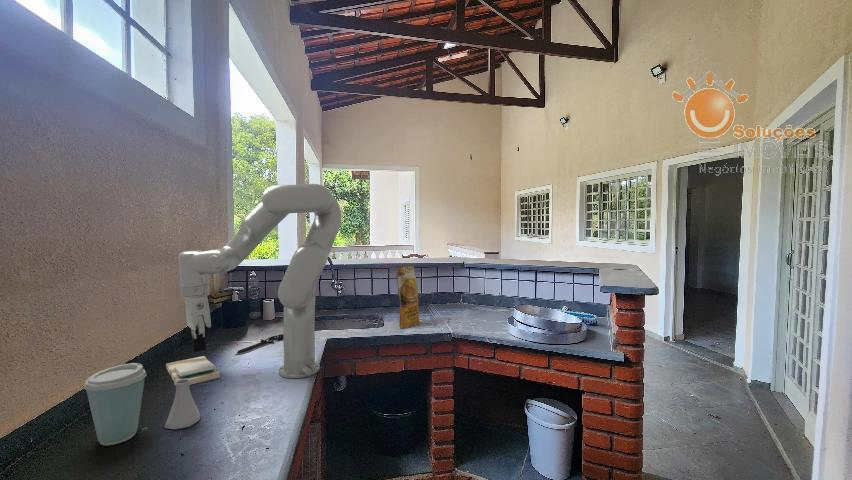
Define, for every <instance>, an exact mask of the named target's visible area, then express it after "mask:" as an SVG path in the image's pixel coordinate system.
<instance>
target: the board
mask: <svg viewBox="0 0 852 480" xmlns="http://www.w3.org/2000/svg"><path fill="white" fill-rule="evenodd" d="M207 360H208V361H209V359H207V357H206V356H205V355H202V356H198V357H193V358H187V359H182V360H176V361H172V362H168V363H165V368H166V370H167V372H168V374H169V376H170V377H171V379H172V381H173V382H174V383H175V381H177V380H180V379H186V378H187V379H191V380H190V383H189V386H191V385H195V384H201V383H203V382H208V381H212V380H216V379H220V378H221V373H220V371H219V370H218V369H217V368H216V367H215V369H214V370H210V371H205V372H201V373H196V374H192V375H187V376H183V377H180V376H179V375H178V374H177V373H176V371H175V367H178V366H183V365H188V364H193V363H198V362H202V361H207ZM174 383H173V384H174Z"/></svg>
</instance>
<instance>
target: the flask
mask: <svg viewBox="0 0 852 480" xmlns="http://www.w3.org/2000/svg"><path fill="white" fill-rule="evenodd" d="M190 380H191V379H187V378H186V379H180V380H177V381H175V383H173V384H174V387H175V394H174V398H173V402H172V405H171V409H170V411H169V413H168V417H167V419H166V422H165V424H164V429H170V430H179V429H185V428H190V427H191V426H193V425H195V424H197V422H199V421H200V419H201V416H202V415H201V413H200V410H199V409H198V406H197V405H196V403H195V402H196V401H194V398H193V397H192V394H191V389H190V385H189V383H190Z"/></svg>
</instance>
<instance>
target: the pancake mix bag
mask: <svg viewBox="0 0 852 480" xmlns="http://www.w3.org/2000/svg"><path fill="white" fill-rule="evenodd" d="M395 272H396V273H395V274H396V275H395V276H396V278H395V279H396V283H397V284H396V285H397V294H398V297H399V325H398V326H399V327H400V328H402V329H409V328H411V327H410V326H412V325H414V326H415V324H416V325H418V324H420V323H419V322H421V321H420V311H419V308H420V307H419V290H418V281H417V276H416V272H415V267H414V265H408V266H401V267H398V268H397V269H396V271H395ZM417 323H418V324H417ZM408 327H409V328H408ZM412 327H413V326H412ZM400 328H399V329H400Z"/></svg>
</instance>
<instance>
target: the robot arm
mask: <svg viewBox="0 0 852 480" xmlns="http://www.w3.org/2000/svg"><path fill="white" fill-rule="evenodd" d="M307 213H314V219H313V222H312V223H311V226H310V228H309V230H308V234H307V235H306V237H305V240H304V242H303V244H302V245H300V246H299V247H298V248H297V249H296V250H295V251H294V253H293V255H292V257H291V260H290V262H289V264H288V266H287V268H286V271H285V273H284V276H283V277H282V280H281V282H280V284H279V287H278V291H277V296H278V299H279V302H280V304H281V305H282V306H283V334H284V338H283V365H281V366H280V367H279V368H278V375H279V376H280V377H282V378H286V379H302V378H306V377H310V376H314V375H315V374H316V373H318V372H320V369H321V366H320V364H319V363H318V362H317V361H315V360H316V358H315V357H316V352H315V350H316V346H315V345H316V343H315V342H316V328H315V327H316V324H315V323H316V318H315V317H316V293H317V292H316V287H317V284H318V282H319V279H320V277H321V275H322V273H323V270H324V269H325V266H326V265H327V262H328V258H329V255H330V252H331V250H332V247H333V246H334V244H335V240H336V238H337V236H338V233H339V230H340V228H341V223H342V210H341V206H340V203H339V202H338V201H337V199H336V198H335V196H334V195H333V194H332V193H331V191H330V190H329V189H328V188H327V187H325V186H324V185H322V184H317V183H302V184H275V185H274V184H273V185H271V186H269V187H267V188H266V189H264V191H263V192H262V194H261V201H260V202H258V204H256V205H255V206H254V207H253V209H251V210H250V211H249V212H248V213H247V214H246V215H245V216H244V217H243V218H242V220H241V222H240V227H239V228H238V231H237V232H236V234H235V235H234V236H233V237H232V238H231V239H230V240H229V241H228V242H227V243H226V244H225V245H224V246H223V247H221V248H215V249H211V250H206V251H204V250H202V249H201V250H200V249H199V250H198V249H196V250H184V251H181V252H180V253H179V254H178V256H177V257H178V261H177V262H178V272H179V288H180V289H179V290H180V298H181V299H185V300H184V301H185V302H184V303H185V319H186V324H187V326H188V327H189V328H190V329H191V343H192V351H193V353H197V352H201V351H206V350H207V348H206V347H207V345H206V335H205V334H206V332H205V331H206V329H205V327H207V328H208V329H210V328H211V327H212V321H211V320H212V319H211V312H210V311H211V310H210V305H209V300H208V296H210V294H211V293H210V289H211V288H210V277H209V276H210V275H222V274H224V273H227V272H229V271H232V270H234V269H236V268H237V267H238V266H239V265H241V263H242V262H244V261H245V260H246V259H247V258H248V257H249V255H251V254H252V253H253V251H255V249H256V248H257V247H258V246H259V245H260V244H261V243H262V242H263V241H264V240H265V238H266V237H267V236H268V235H269V234H270V233H271V232H272V231H273V230H274V229H275V228H276V227H277V226H278V225H279V224H280V223H281V222H282V221H284V219H285V218H286V217H287V216H289V215H290V214H307Z"/></svg>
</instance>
